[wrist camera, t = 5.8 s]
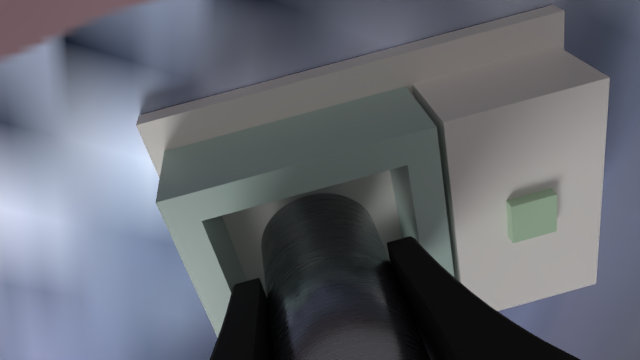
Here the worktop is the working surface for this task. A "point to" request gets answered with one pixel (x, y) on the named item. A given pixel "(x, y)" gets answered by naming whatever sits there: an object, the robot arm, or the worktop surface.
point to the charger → (403, 159)
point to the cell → (334, 285)
